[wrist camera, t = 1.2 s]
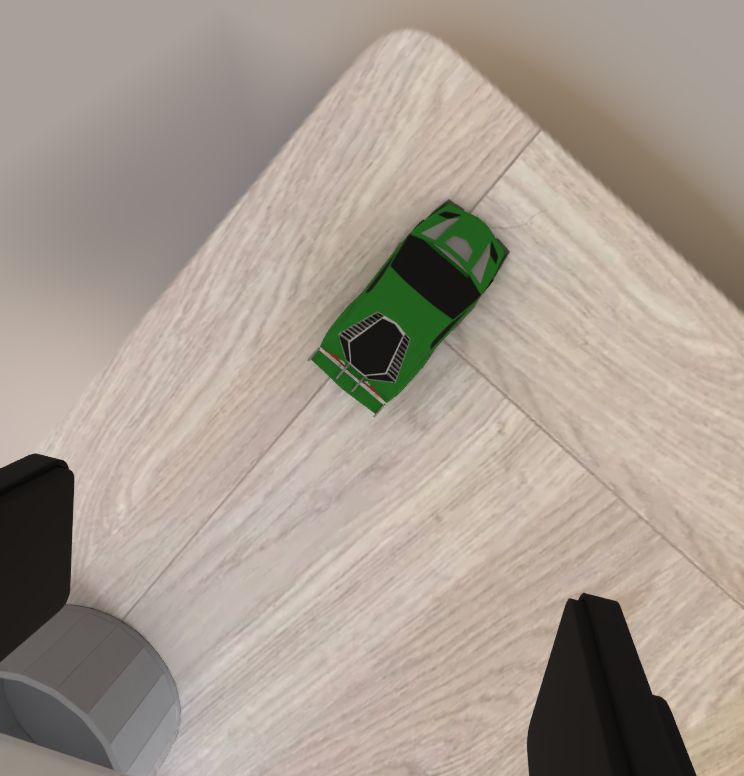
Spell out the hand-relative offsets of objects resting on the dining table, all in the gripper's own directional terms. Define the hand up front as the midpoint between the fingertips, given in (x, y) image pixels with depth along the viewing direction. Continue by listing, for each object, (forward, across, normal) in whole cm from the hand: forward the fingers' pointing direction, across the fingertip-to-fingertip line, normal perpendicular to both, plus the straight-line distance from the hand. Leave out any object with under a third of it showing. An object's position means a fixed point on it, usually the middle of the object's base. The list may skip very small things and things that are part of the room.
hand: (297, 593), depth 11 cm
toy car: (+20, +1, -3) cm, 20 cm away
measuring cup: (+20, +16, +27) cm, 37 cm away
